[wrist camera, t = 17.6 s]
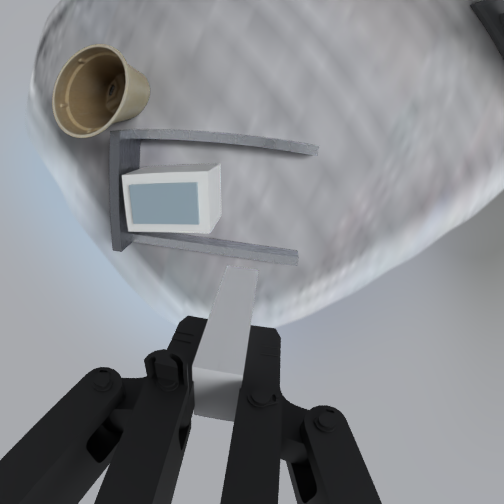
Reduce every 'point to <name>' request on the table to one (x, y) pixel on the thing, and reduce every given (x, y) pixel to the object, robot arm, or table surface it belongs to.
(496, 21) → the faucet
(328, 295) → the table surface
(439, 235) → the table surface
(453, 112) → the table surface
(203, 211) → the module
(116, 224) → the rail
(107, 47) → the flower pot
